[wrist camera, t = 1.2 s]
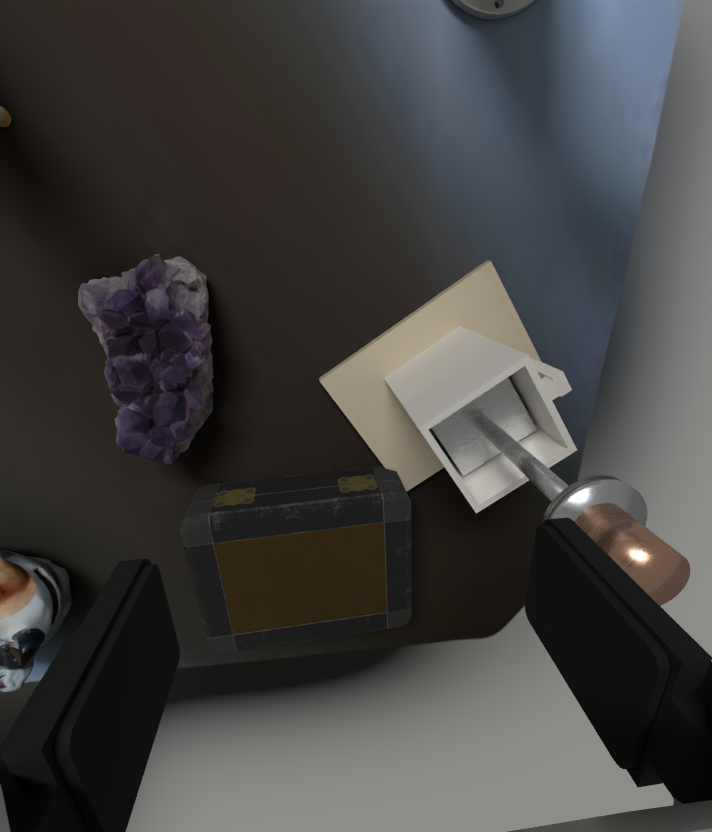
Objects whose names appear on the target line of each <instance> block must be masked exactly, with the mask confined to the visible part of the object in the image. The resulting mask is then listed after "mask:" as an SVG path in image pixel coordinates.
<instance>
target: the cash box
mask: <svg viewBox="0 0 712 832" xmlns="http://www.w3.org/2000/svg"><path fill="white" fill-rule="evenodd" d="M180 533H181V537H182V541H183V546H184V550H185V554H186V558H187V562H188V566H189V570H190V574H191V578H192V582H193V586H194V590H195V594H196V598H197V602H198V606H199V610H200V614H201V618H202V622H203V626H204V630H205V634H206V638H207V642H208V646H209V647H210V648H211V649H212V651H213V652H216V653H223V654H225V653H232V652H239V651H245V650H252V649H259V648H265V647H272V646H279V645H285V644H292V643H299V642H305V641H312V640H318V639H325V638H332V637H338V636H345V635H352V634H358V633H365V632H372V631H378V630H385V629H391V628H398V627H401V626H403V625H406V624H408V623H409V621H410V619H411V617H412V539H411V501H410V498H409V496H408V494H407V492H406V490H405V488H404V486H403V483H402V481H401V479H400V477H399V475H398V473H397V471H394V470H390V469H386V468H385V467H384V466H383V465H379V466H370V467H360V468H351V469H342V470H333V471H324V472H315V473H305V474H296V475H287V476H278V477H269V478H260V479H250V480H241V481H232V482H223V483H214V484H206V485H204V486H202V487H200V488H198V489H197V490H196V491H195V493H194V496H193V498H192V500H191V502H190V505H189V507H188V509H187V511H186V514H185V516H184V518H183V521H182V525H181V529H180Z"/></svg>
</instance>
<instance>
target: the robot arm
mask: <svg viewBox="0 0 712 832" xmlns="http://www.w3.org/2000/svg"><path fill="white" fill-rule="evenodd" d="M451 1H452V2H453V3H454V4H455V5H457V6H458V7H459V8H461V9H462V10H463V11H465V12H466V13H469V14H471V15H473V16H476V17H478V18H484V19H502V18H506V17H509V16H512V15H515V14H517V13H519V12H520V11H522V10H524V9H525V8H527V7H529V6H530V5H531V4H532V3H533V2H534V1H535V0H451ZM495 5H496V6H497V8H496V7H495ZM525 610H526V615H527V618H528V620H529V622H530V624H531V626H532V627H533V629H534V630H535V632H536V634H537V635H538V637H539V638H540V640H541V642H542V643H543V645H544V647H545V648H546V650H547V652H548V653H549V655H550V657H551V658H552V660H553V661H554V663H555V665H556V666H557V668H558V670H559V671H560V673H561V674H562V676H563V678H564V679H565V681H566V683H567V684H568V686H569V688H570V689H571V691H572V693H573V694H574V696H575V697H576V699H577V701H578V702H579V704H580V706H581V707H582V709H583V711H584V712H585V714H586V715H587V717H588V719H589V720H590V722H591V723H592V725H593V727H594V729H595V730H596V732H597V733H598V735H599V737H600V738H601V740H602V742H603V743H604V745H605V746H606V748H607V750H608V751H609V753H610V755H611V756H612V758H613V759H614V761H615V762H616V764H617V765H619V767H620V768H622V769H627V771H628V772H629V774H630V776H631V777H632V779H633V781H634V782H635V784H636V785H637V787H643V786H648V785H654V784H661V783H664V785H665V786H666V788H667V789H668V790H669V792H670V793H671V795H672V796H673V798H674V805H673V806H666V807H659V808H652V809H645V810H638V811H631V812H624V813H618V814H612V815H606V816H600V817H594V818H588V819H582V820H576V821H570V822H564V823H558V824H552V825H546V826H540V827H534V828H528V829H521V830H515V831H510V832H712V662H711V660H712V657H711V656H710V655H709V654H708V653H707V652H706V651H705V650H704V649H703V648H702V647H701V646H700V645H699V644H698V643H697V642H696V641H695V640H694V639H693V638H692V637H691V636H690V635H689V634H687V632H685V631H684V630H683V629H682V628H681V627H680V626H679V625H678V624H677V623H676V622H675V621H674V620H673V619H672V618H671V617H670V616H669V615H668V614H667V613H666V612H665V611H664V610H663V609H662V608H661V607H660V606H659V605H658V604H657V603H656V602H655V601H654V600H653V599H652V598H651V597H650V596H649V595H648V594H647V593H646V592H645V591H644V590H643V589H642V588H641V587H640V586H639V585H638V584H637V583H636V582H635V581H634V580H633V579H632V578H631V577H630V576H629V575H628V574H627V573H626V572H625V571H624V570H623V569H622V568H621V567H620V566H619V565H618V564H617V563H616V562H615V561H614V560H613V559H612V558H611V557H610V556H609V555H608V554H607V553H606V552H604V551H603V550H602V549H601V548H600V547H599V546H598V545H597V544H596V543H595V542H594V541H593V540H592V539H591V538H590V537H589V536H588V535H587V534H586V533H585V532H584V531H583V530H582V529H581V528H580V527H579V526H578V525H577V524H576V523H575V522H574V521H573V520H572V519H570V518H567V517H566V518H556V519H547V520H544V522H543V524H542V526H539V527H538V528H537V531H536V538H535V544H534V551H533V558H532V564H531V571H530V577H529V584H528V590H527V597H526V603H525ZM179 653H180V652H179V644H178V640H177V637H176V633H175V629H174V625H173V621H172V617H171V613H170V609H169V606H168V602H167V598H166V594H165V590H164V586H163V582H162V578H161V574H160V571H159V568H158V566H157V565H155V564H154V565H151V563H150V561H149V560H148V559H140V560H130V561H122V562H120V563H119V564H118V565H117V566H116V568H115V569H114V571H113V573H112V574H111V576H110V578H109V579H108V581H107V583H106V584H105V586H104V587H103V589H102V591H101V592H100V594H99V596H98V597H97V599H96V601H95V602H94V604H93V605H92V607H91V609H90V610H89V612H88V614H87V615H86V617H85V618H84V620H83V622H82V623H81V625H80V627H78V628H76V629H75V630H73V631H72V633H71V634H70V635H69V636H68V638H67V639H66V641H65V642H64V644H63V646H62V647H61V649H60V650H59V652H58V654H57V655H56V657H55V658H54V660H53V662H52V663H51V665H50V666H49V668H48V670H47V671H46V673H45V674H44V676H43V678H42V679H41V681H40V682H39V684H38V686H37V687H36V689H35V690H34V692H33V694H32V695H31V697H30V698H29V700H28V702H27V703H26V705H25V707H24V708H23V710H22V711H21V713H20V714H19V716H18V718H17V719H16V721H15V722H14V724H13V725H12V727H11V729H10V730H9V732H8V733H7V735H6V737H5V738H4V740H3V741H2V743H1V745H0V832H125V831H126V828H127V825H128V822H129V819H130V816H131V812H132V809H133V806H134V803H135V800H136V796H137V793H138V790H139V787H140V784H141V781H142V777H143V774H144V771H145V768H146V765H147V761H148V758H149V755H150V752H151V749H152V746H153V742H154V739H155V736H156V733H157V730H158V726H159V723H160V720H161V717H162V714H163V710H164V707H165V704H166V701H167V698H168V695H169V691H170V688H171V685H172V682H173V679H174V675H175V672H176V669H177V666H178V662H179Z"/></svg>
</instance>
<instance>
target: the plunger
mask: <svg viewBox="0 0 712 832" xmlns="http://www.w3.org/2000/svg"><path fill="white" fill-rule="evenodd" d="M432 430H433V431H434V433H435V434H436V436H437V437H438V439H439V440H440V442H441V443H442V445H443V446H444V448H445V449H446V451H447V452H448V454H449V455H450V457H451V458H452V460H453V461H454V463H455V464H456V466H457V467H458V469H459V470H460V472H461V473H462V475H463V476H465V475H467V474H468V473H470V472H471V471H473V470H474V469H476V468H477V467H479V466H481V465H482V464H484V463H485V462H487V461H488V460H490V459H491V458H493V457H495V456H496V455H498V454H499V453H502V454H504V455H505V456H506V457H507V458H508V459H509V460H510V461H511V462H512V463H513V464H514V465H515V466H516V467H517V468H518V469H519V470H520V471H521V472H522V473H523V474H524V475H525V476H526V477H527V478H528V479H529V480H530V481H531V482H532V483H533V484H534V485H535V486H536V487H538V488H539V489H540V490H541V491H542V492H543V493H544V494H545V495H546V496H547V497H548V498H549V499H550V500H551V501H552V502H551V504H550V505H549V507H548V508H547V510H546V512H545V514H544V517H543V520H542V524H543V522H544V520H547V519H556V518H566V517H567V518H570V519H572V520H573V521H574V522H575V523H576V524H577V525H578V526H579V527H580V528H581V529H582V530H583V531H584V532H585V533H586V534H587V535H588V536H589V537H590V538H591V539H592V540H593V541H594V542H595V543H596V544H597V545H598V546H599V547H600V548H601V549H602V550H603V551H604V552H606V553H607V554H608V555H609V556H610V557H611V558H612V559H613V560H614V561H615V562H616V563H617V564H618V565H619V566H620V567H621V568H622V569H623V570H624V571H625V572H626V573H627V574H628V575H629V576H630V577H631V578H632V579H633V580H634V581H635V582H636V583H637V584H638V585H639V586H640V587H641V588H642V589H643V590H644V591H645V592H646V593H647V594H648V595H649V596H650V597H651V598H652V599H653V600H654V601H655V602H656V603H657V604H658V605H659V606H660V605H663V604H665V603H667V602H668V601H670V600H672V599H673V598H674V597H675V596H677V595H678V594H679V593H680V592H681V590H682V589H683V588H684V587H685V585H686V583H687V581H688V579H689V576H690V565H689V563H688V561H687V559H686V558H685V557H683V556H682V555H681V554H680V553H678V552H677V551H676V550H674V549H673V548H672V547H671V546H669V545H668V544H667V543H666V542H664V541H663V540H661V539H660V538H659V537H658V536H656V535H655V534H654V533H653V532H651V531H650V530H649V529H648V528H646V527H645V524H646V520H647V507H646V504H645V501H644V499H643V497H642V496H641V494H640V493H638V491H636V490H635V489H634V488H632V487H631V486H630V485H628V484H627V483H625V482H624V481H622V480H620V479H618V478H615V477H611V476H593V477H588V478H585V479H582V480H580V481H577V482H575V483H573V484H572V485H570V486H568V485H567V484H566V483H565V482H564V481H562V480H561V479H560V478H559V477H558V476H556V475H555V474H554V473H553V472H552V471H551V470H549V469H548V468H547V467H546V466H545V465H544V464H542V463H541V462H540V461H539V460H538V459H536V458H535V457H534V456H533V455H532V454H531V453H529V452H528V451H527V450H526V449H525V448H524V447H522V446H521V445H520V444H519V443H518V441H520V440H521V439H523V438H524V437H526V436H527V435H529V434H530V433H532V432H534V431H535V430H537V429H536V427H535V425H534V423H533V422H532V420H531V418H530V416H529V414H528V412H527V411H526V409H525V407H524V405H523V403H522V402H521V400H520V398H519V396H518V394H517V392H516V391H515V389H514V387H513V385H512V383H511V381H510V380H509V378H508V377H507V378H506V379H504V380H503V381H501V382H500V383H498V384H497V385H495V386H494V387H492V388H491V389H489V390H488V391H486V392H485V393H483V394H482V395H480V396H479V397H477V398H475V399H474V400H472V401H471V402H469V403H468V404H466V405H465V406H463V407H462V408H460V409H459V410H457V411H456V412H454V413H453V414H451V415H450V416H448V417H447V418H445V419H444V420H442V421H441V422H439V423H438V424H436V425H435V426H433V427H432Z"/></svg>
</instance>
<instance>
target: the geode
mask: <svg viewBox="0 0 712 832" xmlns="http://www.w3.org/2000/svg"><path fill="white" fill-rule="evenodd" d="M206 278H207V276H206V275H204V274H203V273H201V272H200V271H199V270H198V269H197V268H196V267H195V266H194V265H192V264H191V263H190V262H188V261H187V260H185V259H184V258H182V257H181V256H180V257H175V258H173V259H170V260H164V261H163V259H162V258H161V256H160V255H159V254H156V255H154V256H153V257H151V258H149V259H145V260H142V261H141V262H140V263H139V264H138V266H137V267H136V268H132V269H130V270H129V271H128V272H126V271H125V272H122V276H120V277H115V276H111V277H110V278H105V277H103V278H102V279H92V280H89V282H88V283H82V284H81V286H80V288H79V291H78V294H79V295H78V305H79V308H80V309H81V311H82V313H83V314H84V315H85V317H86V318H87V319H88V320H89V321H90V322H91V324H92V326H93V331H94V332H96V333H97V334H98V336H99V339H100V343H101V345H102V346H103V347H104V350H105V352H106V354H107V356H108V359H107V360H106V362H105V366H106V368H105V371H104V375H105V377H106V379H107V382H108V385H109V389H110V393H111V396H112V398H113V400H114V401H115V403H116V404H117V405H118V406H119V407H120V409H119V410H118V412H117V414H118V417H117V418H116V419H115V424H116V427H117V430H118V431H117V438H116V441H117V444H118V445H119V447H120V448H121V449H122V451H123V452H125V453H130V454H135V455H138V456H141V457H142V458H144V459H147V460H150V461H153V462H159V463H167V464H172V463H173V461H174V460H175V459H176V458H177V457H179V454H180V453H181V452H184V451H186V450H187V449H188V448H189V445H190V443H191V441H192V439H193V438H194V435H195V433H196V432H197V431H198V430H199V429H200V428H201V427H202V425H203V424H204V422H205V421H206V419H207V418H208V417H209V415H210V414H211V412H212V410H213V393H214V389H213V384H212V379H213V378H214V377H213V365H212V353H211V351H210V349H211V344H212V337H211V332H210V329H211V327H210V326H211V325H210V324H209V323H207V320H208V315H209V312H208V302H209V300H208V298H209V294H208V290H207V285H206Z"/></svg>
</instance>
